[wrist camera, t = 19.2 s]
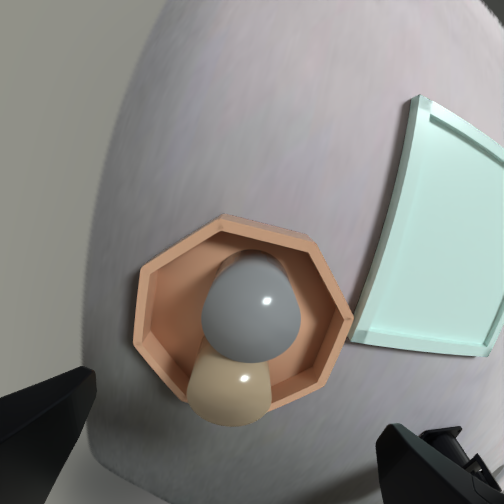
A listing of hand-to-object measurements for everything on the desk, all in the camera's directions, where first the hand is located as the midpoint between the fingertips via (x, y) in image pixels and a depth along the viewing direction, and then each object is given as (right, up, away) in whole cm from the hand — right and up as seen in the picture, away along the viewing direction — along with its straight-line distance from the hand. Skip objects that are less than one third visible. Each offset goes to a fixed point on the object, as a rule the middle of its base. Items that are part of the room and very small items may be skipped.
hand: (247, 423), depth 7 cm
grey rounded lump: (0, +3, +11) cm, 11 cm away
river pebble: (-1, -2, +12) cm, 12 cm away
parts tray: (+17, +5, +11) cm, 21 cm away
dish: (-1, 0, +12) cm, 12 cm away
